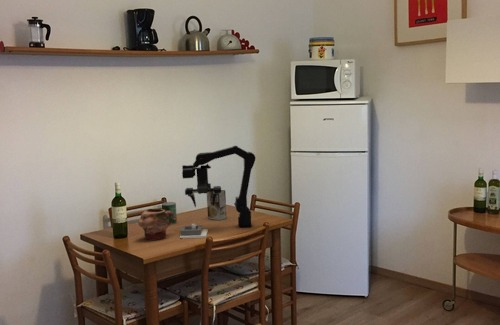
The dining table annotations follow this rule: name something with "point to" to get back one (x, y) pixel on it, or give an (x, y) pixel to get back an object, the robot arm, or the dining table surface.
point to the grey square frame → (190, 230)
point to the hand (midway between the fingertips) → (204, 206)
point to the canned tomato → (172, 208)
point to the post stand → (203, 235)
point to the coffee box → (216, 206)
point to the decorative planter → (155, 223)
